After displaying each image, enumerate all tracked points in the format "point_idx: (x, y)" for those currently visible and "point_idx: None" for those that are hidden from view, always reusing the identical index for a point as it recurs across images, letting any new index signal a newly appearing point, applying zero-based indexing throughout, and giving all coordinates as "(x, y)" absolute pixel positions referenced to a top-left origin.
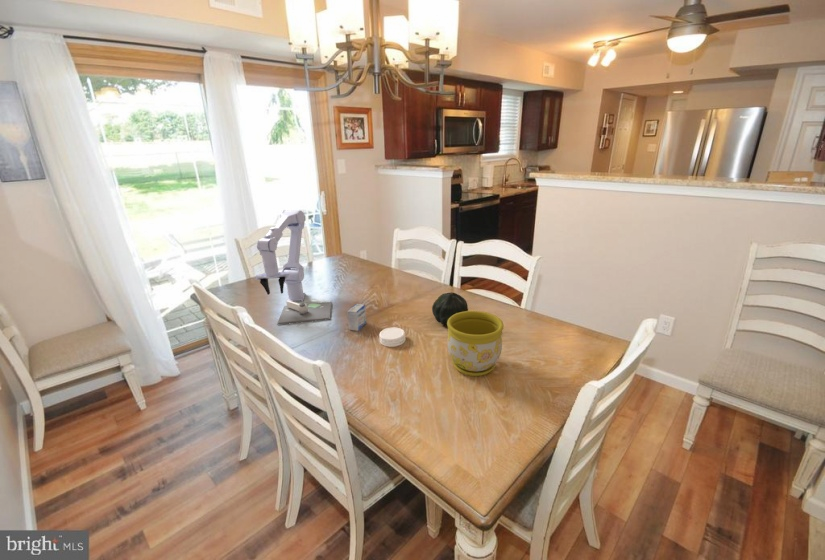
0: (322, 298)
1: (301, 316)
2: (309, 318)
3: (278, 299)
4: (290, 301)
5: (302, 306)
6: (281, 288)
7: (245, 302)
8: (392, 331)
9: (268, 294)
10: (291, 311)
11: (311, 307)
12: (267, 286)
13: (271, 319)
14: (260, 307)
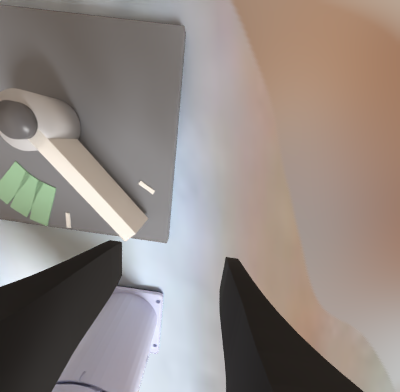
0: (22, 274)
1: (61, 75)
2: (9, 25)
3: (200, 327)
4: (109, 219)
5: (12, 100)
6: (69, 263)
7: (329, 347)
8: None
9: (231, 258)
10: (124, 165)
11: (32, 176)
12: (237, 346)
13: (221, 127)
14: (272, 280)
